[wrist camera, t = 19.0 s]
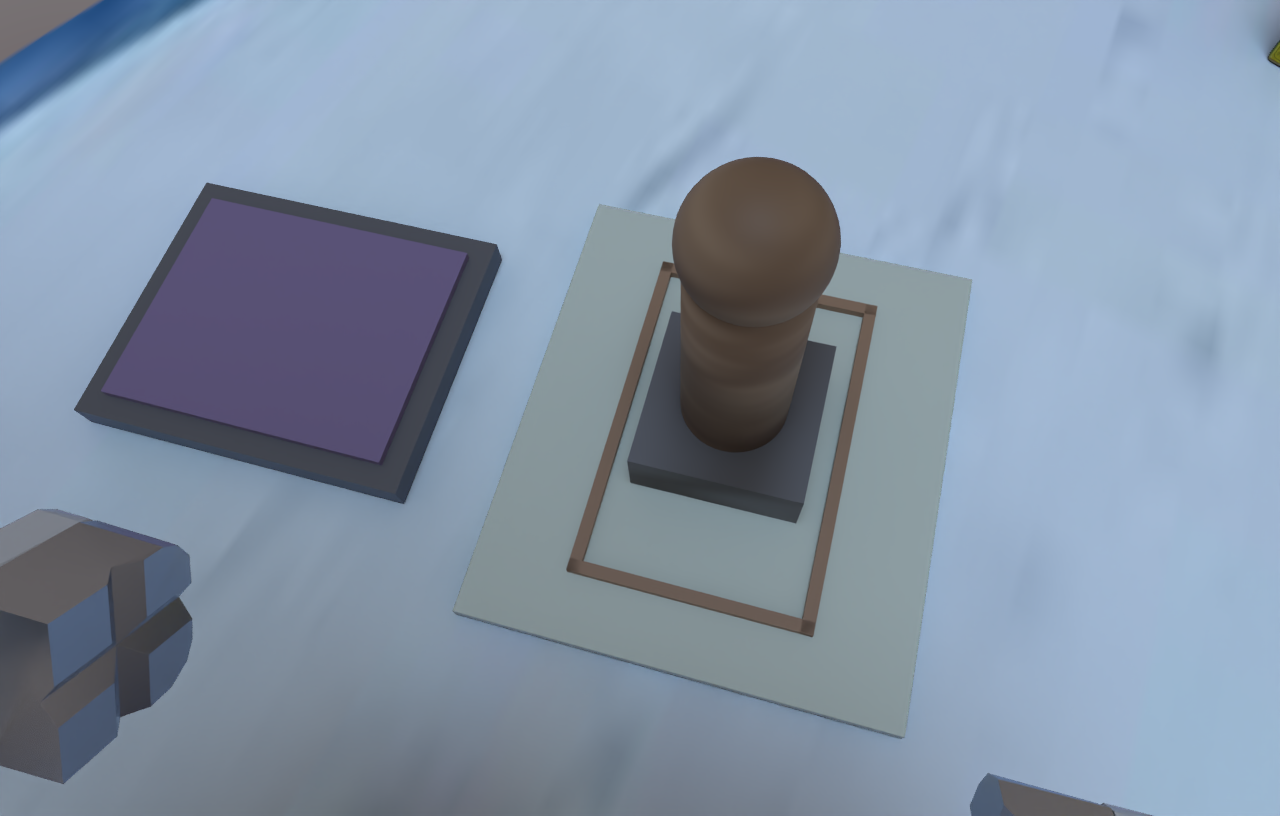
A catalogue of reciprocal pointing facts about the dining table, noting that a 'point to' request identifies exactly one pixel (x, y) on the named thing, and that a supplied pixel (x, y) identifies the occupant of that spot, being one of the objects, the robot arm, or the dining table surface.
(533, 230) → the dining table surface
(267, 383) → the ink pad
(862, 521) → the print card
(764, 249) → the stamp
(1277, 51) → the crayon box
